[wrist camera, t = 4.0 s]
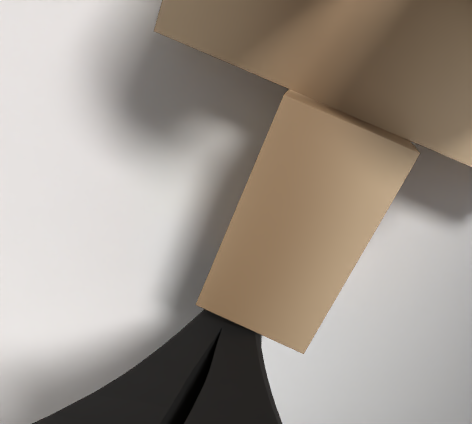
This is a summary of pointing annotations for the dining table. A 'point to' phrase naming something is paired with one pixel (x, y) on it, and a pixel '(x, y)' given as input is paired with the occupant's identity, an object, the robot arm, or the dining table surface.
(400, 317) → the dining table surface
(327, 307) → the tan t-shaped block
